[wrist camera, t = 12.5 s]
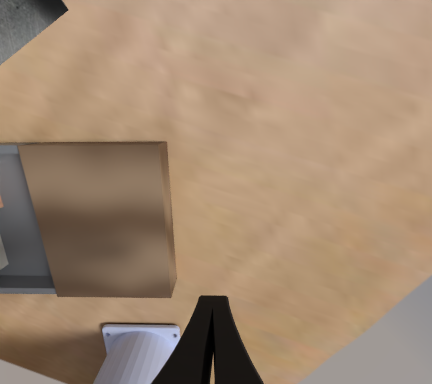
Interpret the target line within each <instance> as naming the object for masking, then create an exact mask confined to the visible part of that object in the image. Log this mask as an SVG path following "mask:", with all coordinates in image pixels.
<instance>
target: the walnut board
mask: <svg viewBox="0 0 432 384" xmlns="http://www.w3.org/2000/svg"><path fill="white" fill-rule="evenodd" d="M18 150H19V154H20V158H21V161H22V165H23V169H24V173H25V176H26V180H27V184H28V188H29V191H30V195H31V199H32V203H33V207H34V210H35V214H36V218H37V222H38V225H39V229H40V233H41V237H42V241H43V244H44V248H45V252H46V256H47V259H48V263H49V267H50V271H51V274H52V278H53V282H54V286H55V290H56V293H57V297H131V298H171V297H172V293H173V290H174V286H175V283H176V279H177V277H176V263H175V249H174V235H173V221H172V207H171V194H170V180H169V166H168V152H167V142H45V143H35V144H27V145H18Z"/></svg>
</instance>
